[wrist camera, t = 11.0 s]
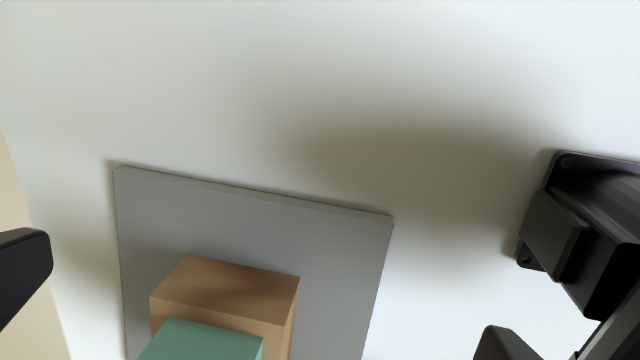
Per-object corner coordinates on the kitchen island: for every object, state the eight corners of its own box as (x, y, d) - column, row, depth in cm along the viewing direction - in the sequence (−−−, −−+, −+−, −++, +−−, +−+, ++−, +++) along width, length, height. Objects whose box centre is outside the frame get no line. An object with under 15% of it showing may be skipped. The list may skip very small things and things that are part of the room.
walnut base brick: (300, 277, 22) (284, 326, 18) (288, 364, 24) (272, 423, 21) (187, 253, 22) (149, 296, 19) (187, 341, 25) (153, 394, 21)
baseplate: (392, 216, 21) (393, 225, 20) (346, 413, 27) (344, 426, 26) (123, 165, 22) (112, 171, 21) (136, 363, 28) (128, 374, 27)
